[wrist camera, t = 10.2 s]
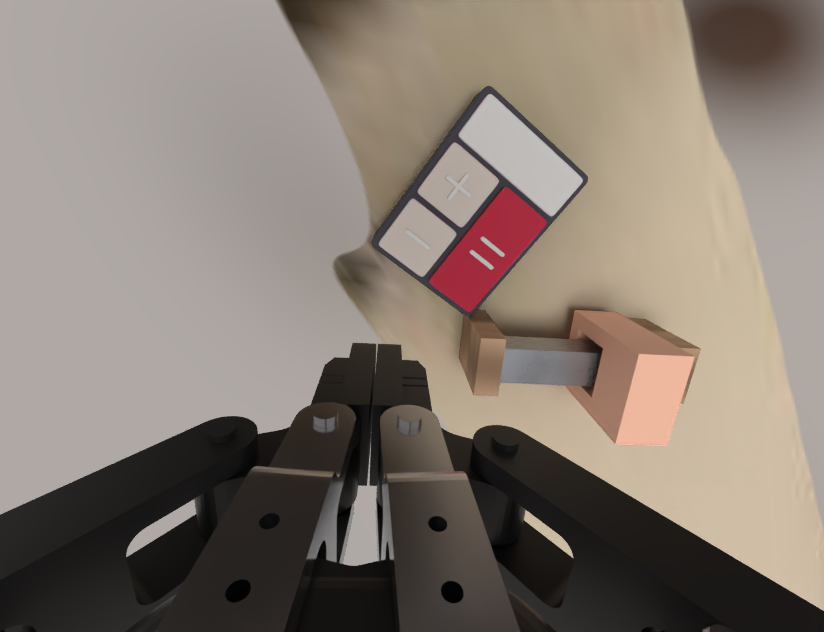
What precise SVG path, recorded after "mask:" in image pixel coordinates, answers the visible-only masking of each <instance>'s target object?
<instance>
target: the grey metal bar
mask: <svg viewBox="0 0 824 632" xmlns="http://www.w3.org/2000/svg"><path fill="white" fill-rule="evenodd" d="M504 337H505V338H506V345H505V352H504V358H503V365H502V371H501V378H500V383H523V384H547V385H571V386H595V381H596V377H597V373H598V369H599V364H600V360H601V356H602V351H603V348H602V347H601V346H599V345H598V344H597V343H595V342H594V341H593V340H577V339H557V338H537V337H517V336H504Z"/></svg>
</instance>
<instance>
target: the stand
mask: <svg viewBox="0 0 824 632" xmlns="http://www.w3.org/2000/svg"><path fill="white" fill-rule="evenodd" d="M628 319H630V318H628ZM630 320H631V321H633V322H635V323H637V324H638V325H640V326H642V327H644V328H645V329H647V330H649V331H651V332H653V333H654V334H656V335H658V336H660V337H661V338H663V339H665V340H667V341H668V342H670V343H672V344H674V345H675V346H677V347H679V348H681V349H682V350H684V351H686V352H688V353H689V354H691V355H693V356H695V358H694V361H693V364H692V368H691V371H690V374H689V377H688V381H687V384H686V387H685V390H684V393H683V397H682V400H681V403H682V404H684V400H685V397H686V394H687V391H688V388H689V384H690V381H691V378H692V375H693V372H694V369H695V365H696V362H697V359H698V356H699V353H700V348H698V347H696V346H694V345H692V344H691V343H689V342H687V341H685V340H683V339H681V338H679V337H677V336H676V335H674V334H672V333H670V332H668V331H666V330H664V329H662V328H661V327H659V326H657V325H655V324H653V323H651V322H649V321H647V320H646V319H630ZM505 345H506V338H505V337H504V335H503V334H502V333H501V331H500V330H499V329H498V327H497V326H496V325H495V323H494V322H493V321H492V319H491V318H490V317H489V315H488V314H487V313H486V311H481V310H476V311H475V312H474V313H473V314H472V315H471V316H465V315H464V318H463V327H462V335H461V344H460V353H459V359H460V362H461V364H462V367H463V370H464V372H465V375H466V377H467V380H468V382H469V385H470V387H471V390H472V393H473V395H477V396H498V391H499V385H500V378H501V371H502V365H503V358H504V352H505Z"/></svg>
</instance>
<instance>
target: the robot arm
mask: <svg viewBox="0 0 824 632" xmlns="http://www.w3.org/2000/svg"><path fill="white" fill-rule="evenodd" d="M375 365H376V373H375ZM371 432H372V433H371ZM370 443H371V460H370V485H371V486H372V485H373V486H377V498H376V531H377V557H378V561H376V562H373V563H368V564H364V565H359V566H348V565H344V564H343V561H344V556H345V552H346V547H347V542H348V537H349V532H350V528H351V523H352V519H353V514H354V501H355V499H356V496H357V490H358V485H365V486H366V485H367V478H368V465H369V455H370ZM193 499H194V500H195V507H196V513H197V514H196V515H194V516H192V517H191V518H189V519H188V520H186V521H184V522H183V523H181V524H180V525H178V526H176V527H175V528H173V529H172V530H170V531H168V532H167V533H165V534H164V535H162V536H160V537H159V538H157V539H155V540H154V541H152V542H151V543H149V544H147V545H146V546H144V547H143V548H141V549H139V550H138V551H136V552H135V553H133V554H132V555H130V556H128V557H126V552H127V548H128V546H129V544H130V542H131V541H132V540H133V538H134V537H135V536H136V535H137V534H138V533H139V532H140V531H142V530H143V529H144V528H146V527H147V526H149V525H150V524H152V523H154V522H156V521H158V520H159V519H161V518H162V517H164V516H166V515H168V514H169V513H171V512H173V511H174V510H176V509H178V508H180V507H181V506H183V505H185V504H186V503H188V502H190V501H191V500H193ZM525 510H527V511H528V512H530V513H531V514H532V515H534V516H535V517H536V518H538V519H539V520H540V521H542V522H543V523H544V524H546V525H547V526H548V527H550V528H551V529H552V530H554V531H555V532H556V533H558V534H559V535H560V536H561V537H562V538H563V539H564V540H565V541H566V542H567V543H568V545H569V546H570V548H571V550H572V553H573V557H574V559H573V558H572V557H571V556H569V555H568V554H567V553H565V552H564V551H563V550H561V549H560V548H559V547H558V546H556V545H555V544H554V543H552V542H551V541H550V540H549V539H547V538H546V537H545V536H543V535H542V534H541V533H540V532H538V531H537V530H536V529H534V528H533V527H532V526H530V525H529V524H528V523H527V522H525V521H524V515H525ZM0 632H824V611H823V610H821V609H819V608H818V607H816V606H814V605H813V604H811V603H809V602H807V601H806V600H804V599H802V598H801V597H799V596H797V595H796V594H794V593H792V592H791V591H789V590H787V589H786V588H784V587H782V586H781V585H779V584H777V583H775V582H774V581H772V580H770V579H769V578H767V577H765V576H764V575H762V574H760V573H759V572H757V571H755V570H754V569H752V568H750V567H749V566H747V565H745V564H743V563H742V562H740V561H738V560H737V559H735V558H733V557H732V556H730V555H728V554H727V553H725V552H723V551H722V550H720V549H718V548H717V547H715V546H713V545H712V544H710V543H708V542H706V541H705V540H703V539H701V538H700V537H698V536H696V535H695V534H693V533H691V532H690V531H688V530H686V529H685V528H683V527H681V526H680V525H678V524H676V523H674V522H673V521H671V520H669V519H668V518H666V517H664V516H663V515H661V514H659V513H658V512H656V511H654V510H653V509H651V508H649V507H648V506H646V505H644V504H642V503H641V502H639V501H637V500H636V499H634V498H632V497H631V496H629V495H627V494H626V493H624V492H622V491H621V490H619V489H617V488H616V487H614V486H612V485H610V484H609V483H607V482H605V481H604V480H602V479H600V478H599V477H597V476H595V475H594V474H592V473H590V472H589V471H587V470H585V469H584V468H582V467H580V466H578V465H577V464H575V463H573V462H572V461H570V460H568V459H567V458H565V457H563V456H562V455H560V454H558V453H557V452H555V451H553V450H552V449H550V448H548V447H547V446H545V445H543V444H541V443H540V442H538V441H536V440H535V439H533V438H531V437H530V436H528V435H526V434H525V433H523V432H521V431H519V430H517V429H514V428H511V427H507V426H501V425H491V426H486V427H483V428H480V429H479V430H477V432H476V433H475V434H474V437H473V439H469V438H465V437H461V436H458V435H454V434H452V433H449V432H447V431H446V430H444V429H442V428H441V426H440V423H439V420H438V418H437V416H436V415H435V414H434V413H433V412H432V408H431V401H430V395H429V389H428V382H427V376H426V370H425V368H424V367H423V366H422V365H421V364H420V363H419V362H418V361H411V360H402V354H401V345H393V344H378V351H377V363H376V344H368V343H353V344H352V348H351V353H350V357H349V358H333V359H332V360H331V361H329V362H328V363H327V364H326V365H325V367H324V369H323V372H322V376H321V378H320V380H319V384H318V386H317V389H316V392H315V395H314V397H313V400H312V403H311V405H310V406H307V407H305V408H304V409H302V410H301V411H300V412H299V413H298V414H297V415H296V417H295V419H294V420H293V422H292V424H291V426H290V427H289V428H286V429H283V430H278V431H274V432H267V433H262V434H258V431H257V426H256V424H255V423H254V422H252V421H251V420H249V419H247V418H244V417H237V416H227V417H220V418H216V419H213V420H209V421H207V422H204V423H202V424H200V425H198V426H196V427H194V428H191V429H189V430H187V431H185V432H183V433H180V434H178V435H176V436H173V437H171V438H169V439H167V440H165V441H162V442H160V443H158V444H156V445H154V446H151V447H149V448H147V449H145V450H143V451H140V452H138V453H136V454H134V455H131V456H129V457H127V458H125V459H123V460H120V461H118V462H116V463H114V464H111V465H109V466H107V467H105V468H103V469H100V470H98V471H96V472H94V473H92V474H90V475H87V476H85V477H83V478H81V479H78V480H76V481H74V482H72V483H70V484H67V485H65V486H63V487H61V488H58V489H56V490H54V491H52V492H50V493H47V494H45V495H43V496H41V497H39V498H36V499H34V500H32V501H30V502H27V503H26V504H23V505H21V506H19V507H17V508H14V509H12V510H10V511H8V512H5V513H3V514H1V515H0Z"/></svg>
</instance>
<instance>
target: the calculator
mask: <svg viewBox="0 0 824 632" xmlns="http://www.w3.org/2000/svg"><path fill="white" fill-rule="evenodd" d="M587 181H588V177H587V175H586V174H585V173H584V172H583V171H582V170H580V169H579V168H578V167H577V166H576V165H575V164H574V163H573V162H572V161H571V160H570V159H569V158H568V157H567V156H565V155H564V154H563V153H562V152H561V151H560V150H559V149H558V148H557V147H556V146H555V145H554V144H553V143H552V142H550V141H549V140H548V139H547V138H546V137H545V136H544V135H543V134H542V133H541V132H540V131H539V130H538V129H537V128H535V127H534V126H533V125H532V124H531V123H530V122H529V121H528V120H527V119H526V118H525V117H524V116H523V115H522V114H520V113H519V112H518V111H517V110H516V109H515V108H514V107H513V106H512V105H511V104H510V103H509V102H508V101H507V100H505V99H504V98H503V97H502V96H501V95H500V94H499V93H498V92H497V91H496V90H495V89H494V88H492V87H491V86H487V87H485V88H484V89H483V90H482V91H481V92H480V93H478V94H477V96H476V97H475V98H474V99H473V101H472V102H471V103H470V105H469V106H468V108H467V109H466V110H465V112H464V113H463V114H462V116H461V117H460V119H459V120H458V121H457V123H456V124H455V125H454V127H453V128H452V129H451V131H450V132H449V134H448V135H447V137H446V138H445V139H444V141H443V142H442V144H441V145H440V146H439V148H438V149H437V150H436V152H435V153H434V154H433V156H432V157H431V159H430V160H429V161H428V163H427V164H426V165H425V167H424V168H423V169H422V171H421V172H420V174H419V175H418V176H417V178H416V179H415V180H414V182H413V183H412V184H411V186H410V187H409V189H408V190H407V191H406V193H405V194H404V195H403V197H402V198H401V199H400V201H399V202H398V204H397V205H396V206H395V208H394V209H393V210H392V212H391V213H390V214H389V216H388V217H387V219H386V220H385V221H384V223H383V224H382V225H381V227H380V228H379V229H378V231H377V232H376V234H375V235H374V237H373V240H372V246H373V247H374V248H375V249H376V250H378V251H379V252H380V253H382V254H383V255H385V256H386V257H387V258H389V259H390V260H391V261H393V262H394V263H395V264H397V265H398V266H399V267H401V268H402V269H403V270H405V271H406V272H407V273H409V274H410V275H411V276H413V277H414V278H415V279H417V280H418V281H419V282H421V283H422V284H424V285H425V286H426V287H428V288H429V289H430V290H432V291H433V292H434V293H436V294H437V295H438V296H440V297H441V298H442V299H444V300H445V301H446V302H448V303H449V304H450V305H452V306H453V307H454V308H456V309H457V310H458V311H460V312H461V313H463V314H464V315H465V316H471V315H472V314H473V313H474V312H475V311H476V310H477V309H478V308H479V306H480V305H481V304H482V303H483V302H484V301H485V300H486V298H487V297H488V296H489V295H490V294H491V293H492V291H493V290H494V289H495V288H496V287H497V286H498V285H499V283H500V282H501V281H502V280H503V279H504V278H505V277H506V275H507V274H508V273H509V272H510V271H511V270H512V268H513V267H514V266H515V265H516V264H517V263H518V262H519V260H520V259H521V258H522V257H523V256H524V255H525V254H526V252H527V251H528V250H529V249H530V248H531V247H532V245H533V244H534V243H535V242H536V241H537V240H538V239H539V237H540V236H541V235H542V234H543V233H544V232H545V231H546V229H547V228H548V227H549V226H550V225H551V224H552V222H553V221H554V220H555V219H556V218H557V217H558V216H559V214H560V213H561V212H562V211H563V210H564V209H565V208H566V206H567V205H568V204H569V203H570V202H571V201H572V199H573V198H574V197H575V196H576V195H577V194H578V193H579V191H580V190H581V189H582V188H583V187H584V186H585V184H586V183H587Z"/></svg>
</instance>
